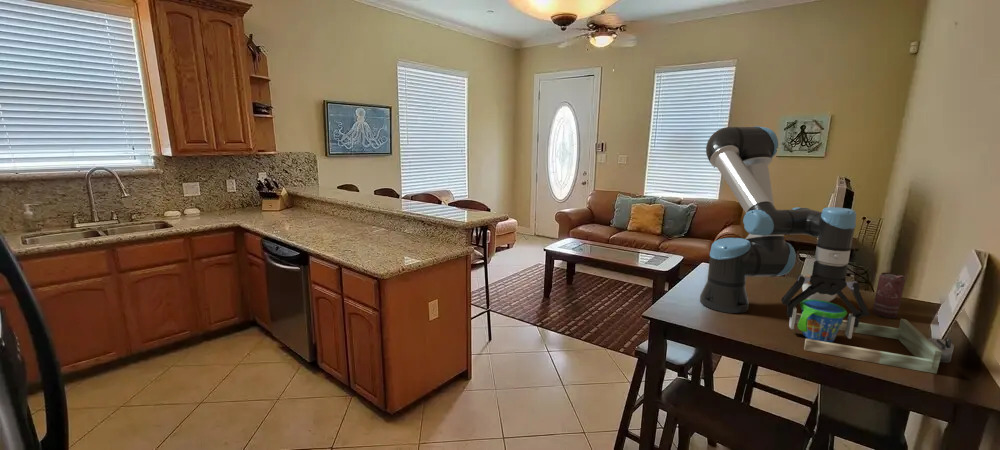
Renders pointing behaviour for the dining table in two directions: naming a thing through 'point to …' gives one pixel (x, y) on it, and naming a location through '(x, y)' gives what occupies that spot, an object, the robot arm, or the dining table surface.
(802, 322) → the snack cup
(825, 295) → the lidded jar
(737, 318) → the dining table surface
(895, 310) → the can
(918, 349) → the bay
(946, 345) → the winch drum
